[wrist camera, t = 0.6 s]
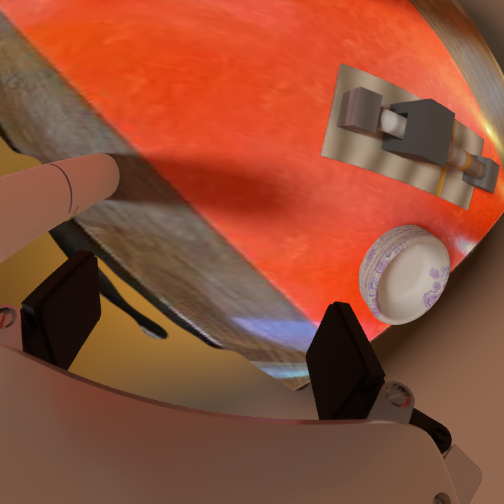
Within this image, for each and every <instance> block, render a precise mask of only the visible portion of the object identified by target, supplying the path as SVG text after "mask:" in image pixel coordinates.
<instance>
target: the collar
mask: <svg viewBox="0 0 504 504" xmlns="http://www.w3.org/2000/svg"><path fill="white" fill-rule="evenodd" d="M389 110H390V111H392V112H394V113H396V114H399V115H401V116H403V117H405V118H407V122H406V127H405V132H404V137H403V139H400V138H398V137H396V136H393V135H391V134H389V133H386V132H385V133H384V138H383V142H382V147H381V149H382V150H385V151H387V152H390V153H392V154H395V155H397V156H400V157H402V158H406V159H411V160H416V161H420V162H424V163H429V164H433V165H437V166H441V167H445V166H446V162H447V157H448V152H449V147H450V142H451V137H452V131H453V125H454V118H455V113H453V112H452V111H450V110H449V109H447V108H446V107H444V106H443V105H441V104H439V103H438V102H436V101H434V100H433V99H424V100H415V101H408V102H401V103H394V104H390V108H389Z"/></svg>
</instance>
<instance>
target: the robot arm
mask: <svg viewBox="0 0 504 504" xmlns="http://www.w3.org/2000/svg"><path fill="white" fill-rule="evenodd" d="M21 304H22V307H23V308H22V309H21V310H20V311H19V309H18V308H17V307H15V306H13V305H1V306H0V504H469V503H470V501H471V500H472V498H473V496H474V494H475V492H476V491H477V489H478V487H479V485H480V483H481V480H482V473H481V470H480V468H479V467H478V466H477V465H476V464H475V463H474V462H473V461H472V460H471V459H470V458H469V457H468V456H467V455H466V454H465V453H464V452H463V451H462V450H461V449H460V448H459V447H458V446H456V444H454V445H453V446H451V442H452V439H451V435H450V432H449V431H448V430H447V428H446V427H444V426H443V425H442V424H440V423H439V422H437V421H435V420H433V419H432V418H430V417H428V416H427V415H425V414H423V413H422V412H420V411H418V410H417V409H415V408H414V396H413V394H412V392H411V390H410V389H409V388H408V387H407V386H405V385H404V384H402V383H400V382H397V381H388V382H386V383H385V381H384V379H383V378H384V376H385V374H384V371H383V369H382V367H381V365H380V363H379V361H378V359H377V357H376V355H375V353H374V351H373V349H372V347H371V345H370V343H369V341H368V339H367V337H366V335H365V333H364V331H363V329H362V327H361V325H360V323H359V321H358V319H357V317H356V315H355V314H354V312H353V310H352V308H351V306H350V304H349V303H343V302H337V301H336V302H334V303H333V304H330V305H329V306H328V308H327V310H326V313H325V315H324V317H323V319H322V321H321V324H320V326H319V328H318V330H317V332H316V334H315V336H314V338H313V341H312V343H311V345H310V347H309V349H308V351H307V354H306V362H307V367H308V371H309V375H310V380H311V384H312V389H313V393H314V398H315V402H316V407H317V412H318V416H319V420H294V419H275V418H274V419H273V418H262V417H251V416H241V415H233V414H226V413H219V412H212V411H206V410H199V409H195V408H189V407H185V406H180V405H175V404H171V403H166V402H162V401H158V400H154V399H150V398H146V397H142V396H138V395H135V394H132V393H128V392H125V391H122V390H119V389H115V388H112V387H109V386H106V385H103V384H100V383H98V382H95V381H92V380H89V379H87V378H84V377H81V376H79V375H76V374H74V373H71V372H69V371H68V369H69V367H70V365H71V364H72V362H73V360H74V359H75V357H76V355H77V354H78V352H79V350H80V349H81V347H82V345H83V344H84V342H85V341H86V339H87V338H88V336H89V334H90V333H91V331H92V330H93V328H94V327H95V325H96V324H97V322H98V321H99V319H100V316H101V304H100V293H99V280H98V261H97V257H95V256H94V253H93V252H90V251H86V250H82V249H80V250H78V251H77V252H76V253H75V254H74V255H73V256H71V257H70V258H69V259H68V260H67V261H66V262H65V263H63V264H62V265H61V266H60V267H59V268H58V269H56V270H55V271H54V272H53V273H52V274H51V275H50V276H49V277H48V278H47V279H45V280H44V281H43V282H42V283H41V284H40V285H39V286H38V287H37V288H36V289H35V290H34V291H33V292H32V293H31V294H30V295H29V296H28V297H27V298H26V299H25V300H24V301H23V302H22V303H21Z"/></svg>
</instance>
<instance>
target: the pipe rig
mask: <svg viewBox="0 0 504 504" xmlns="http://www.w3.org/2000/svg"><path fill="white" fill-rule="evenodd" d="M415 100H423V99H421V98H419V97H417V96H415V95H413V94H412V93H410V92H408V91H406V90H404V89H402V88H400V87H398V86H396V85H394V84H391V83H389V82H387V81H385V80H383V79H380V78H378V77H376V76H373V75H371V74H369V73H366V72H364V71H361V70H359V69H356V68H353V67H351V66H348V65H345V64H343V63H342V64H340V66H339V71H338V76H337V81H336V86H335V91H334V96H333V101H332V106H331V111H330V115H329V120H328V124H327V129H326V133H325V138H324V142H323V146H322V151H321V155H320V156H324V157H328V158H331V159H335V160H338V161H341V162H345V163H348V164H351V165H354V166H358V167H361V168H364V169H367V170H370V171H373V172H376V173H379V174H382V175H384V176H387V177H390V178H393V179H395V180H398V181H401V182H403V183H406V184H409V185H411V186H414V187H416V188H419V189H421V190H424V191H426V192H428V193H431V194H433V195H435V196H438V197H440V198H442V199H444V200H447V201H449V202H451V203H453V204H455V205H458V206H460V207H462V208H464V209H466V210H468V208H469V205H470V201H471V198H472V194H473V190H474V187H476V188H479V189H482V190H485V191H487V192H490V193H492V194H494V190H495V185H496V181H497V176H498V172H499V167H500V166H499V165H498V164H497V163H495V162H494V161H493V160H492V159H489V158H485V157H481V154H482V148H483V142H484V139H482V138H481V137H480V136H478V135H477V134H476V133H474V132H473V131H472V130H470V129H469V128H467V127H466V126H465V125H463V124H462V123H460V122H459V121H457V120H456V119H454V125H453V131H452V137H451V142H450V147H449V152H448V157H447V162H446V166H445V167H441V166H437V165H433V164H429V163H424V162H420V161H416V160H411V159H406V158H402V157H400V156H397V155H395V154H392V153H390V152H387V151H385V150H382V149H381V147H382V142H383V138H384V133H385V132H386V133H389V134H391V135H393V136H396V137H398V138H400V139H403V137H404V132H405V127H406V122H407V118H405V117H403V116H401V115H399V114H396V113H394V112H392V111H390V110H389V108H390V104H394V103H401V102H408V101H415Z"/></svg>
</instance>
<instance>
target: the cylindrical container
mask: <svg viewBox="0 0 504 504" xmlns="http://www.w3.org/2000/svg"><path fill="white" fill-rule="evenodd" d="M119 179H120V174H119V168H118V165H117V163H116V162H115V160H114V159H113V158H112V157H111V156H109V155H107V154H105V153H96V154H91V155H85V156H80V157H75V158H70V159H66V160H61V161H57V162H53V163H48V164H44V165H41V166H37V167H33V168H30V169H26V170H23V171H19V172H15V173H12V174H9V175H6V176H2V177H0V263H1V262H3V261H4V260H6V259H7V258H8V257H10V256H11V255H12V254H14V253H15V252H17V251H18V250H19V249H21V248H23V247H24V246H25V245H27V244H29V243H30V242H32V241H33V240H35V239H36V238H38V237H39V236H41V235H43V234H44V233H46V232H47V231H49V230H51V229H52V228H54V227H56V226H57V225H59V224H61V223H62V222H64V221H66V220H67V219H69V218H71V217H73V216H74V215H76V214H78V213H80V212H82V211H83V210H85V209H87V208H89V207H91V206H93V205H94V204H96V203H98V202H100V201H102V200H104V199H106V198H108V197H110V196H111V195H112V194H113V193H114V192H115V190H116V189H117V187H118V184H119Z"/></svg>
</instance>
